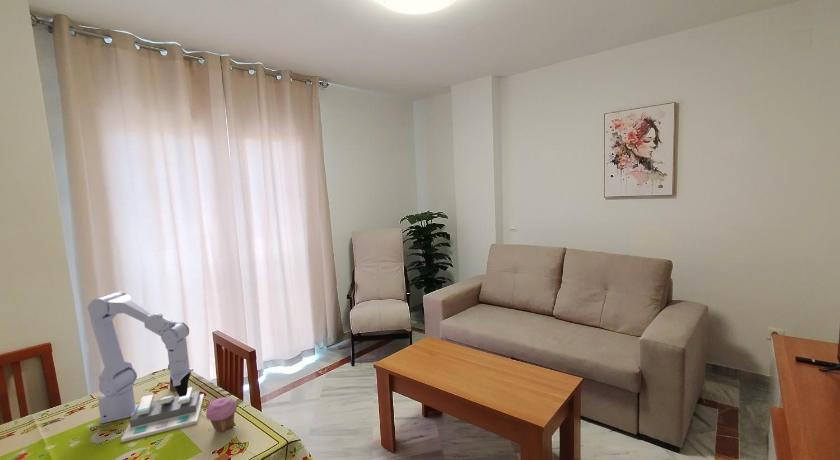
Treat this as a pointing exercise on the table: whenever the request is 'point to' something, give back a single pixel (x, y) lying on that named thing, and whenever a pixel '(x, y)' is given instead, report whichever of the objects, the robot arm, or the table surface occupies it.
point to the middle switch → (166, 400)
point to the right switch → (186, 397)
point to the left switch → (145, 405)
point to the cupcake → (221, 413)
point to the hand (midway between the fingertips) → (183, 395)
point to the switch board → (170, 425)
